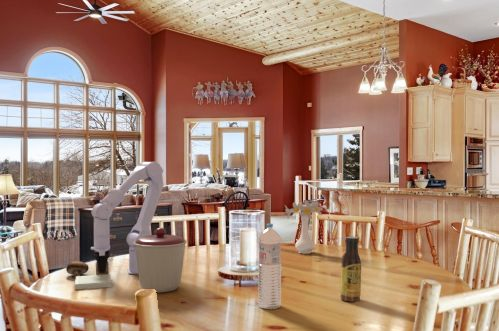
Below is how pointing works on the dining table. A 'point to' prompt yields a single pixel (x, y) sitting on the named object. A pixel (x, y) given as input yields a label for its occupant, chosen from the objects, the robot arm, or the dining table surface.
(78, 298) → the dining table surface
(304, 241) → the flower vase
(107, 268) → the walnut block
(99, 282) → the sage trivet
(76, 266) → the mushroom
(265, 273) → the water bottle
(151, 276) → the canister
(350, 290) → the sauce bottle
